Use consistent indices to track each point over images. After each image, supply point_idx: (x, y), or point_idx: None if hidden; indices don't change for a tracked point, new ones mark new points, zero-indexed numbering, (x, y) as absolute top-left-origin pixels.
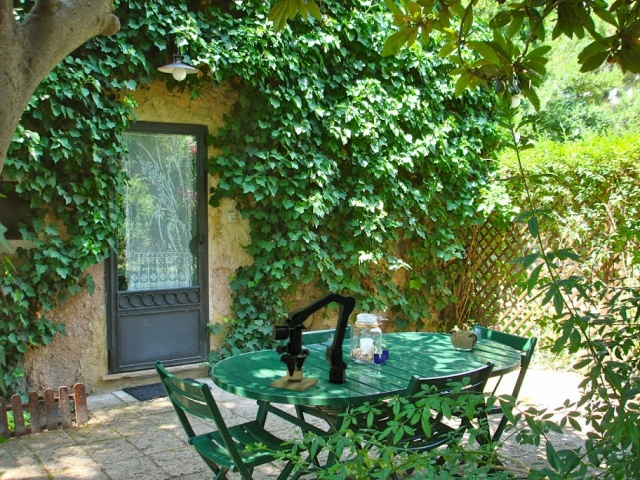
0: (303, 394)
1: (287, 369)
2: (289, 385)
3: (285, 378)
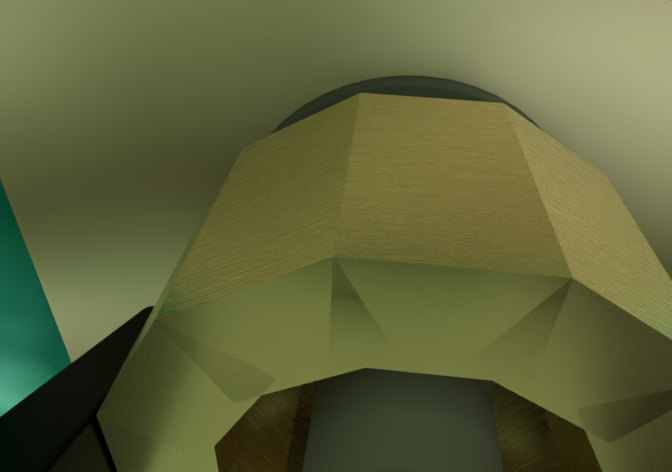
0: (5, 411)
1: (266, 306)
2: (45, 247)
3: None
